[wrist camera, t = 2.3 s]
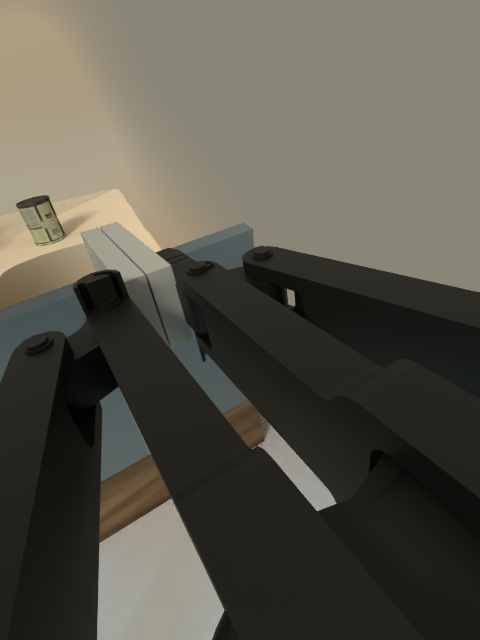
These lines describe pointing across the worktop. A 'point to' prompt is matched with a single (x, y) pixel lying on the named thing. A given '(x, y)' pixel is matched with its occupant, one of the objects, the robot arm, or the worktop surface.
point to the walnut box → (158, 478)
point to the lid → (117, 421)
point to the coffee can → (41, 220)
